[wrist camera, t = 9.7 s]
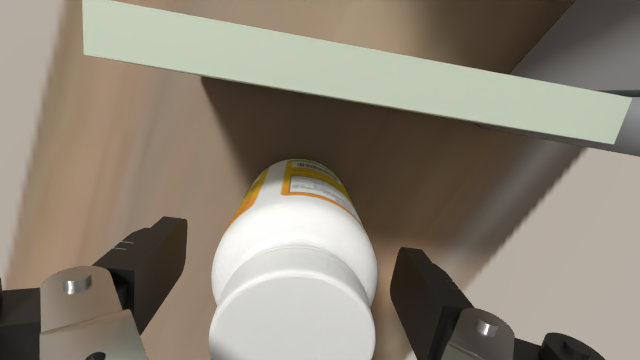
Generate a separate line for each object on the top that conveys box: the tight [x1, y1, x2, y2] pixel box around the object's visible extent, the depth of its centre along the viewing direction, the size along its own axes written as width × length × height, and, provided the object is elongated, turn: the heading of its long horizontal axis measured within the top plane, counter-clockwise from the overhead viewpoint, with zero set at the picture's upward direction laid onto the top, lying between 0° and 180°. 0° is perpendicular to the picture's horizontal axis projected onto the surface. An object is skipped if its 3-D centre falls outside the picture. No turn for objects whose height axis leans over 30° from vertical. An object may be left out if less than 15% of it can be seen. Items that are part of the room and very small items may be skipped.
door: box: [83, 0, 632, 144], centre depth 11 cm, size 13×1×8 cm, turn 81°
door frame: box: [477, 0, 640, 156], centre depth 13 cm, size 36×2×9 cm, turn 141°
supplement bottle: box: [209, 159, 378, 360], centre depth 12 cm, size 5×5×10 cm
